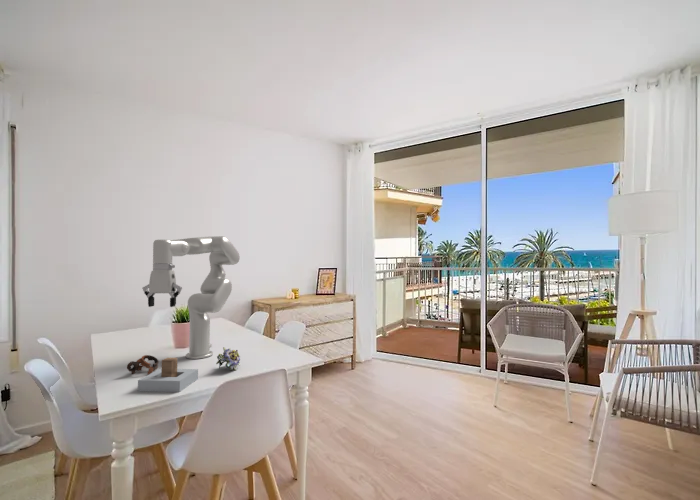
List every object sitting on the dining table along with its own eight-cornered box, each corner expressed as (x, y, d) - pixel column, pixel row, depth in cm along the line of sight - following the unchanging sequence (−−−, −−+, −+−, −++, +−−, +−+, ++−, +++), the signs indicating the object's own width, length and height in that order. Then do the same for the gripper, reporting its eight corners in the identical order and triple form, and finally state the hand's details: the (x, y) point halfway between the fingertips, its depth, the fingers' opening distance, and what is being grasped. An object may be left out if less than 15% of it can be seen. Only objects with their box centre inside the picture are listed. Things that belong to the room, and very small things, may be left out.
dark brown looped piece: (146, 369, 157) (155, 353, 157) (154, 382, 152) (164, 366, 152) (118, 369, 147) (128, 352, 147) (127, 383, 142) (137, 366, 142)
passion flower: (234, 382, 154) (232, 365, 147) (211, 377, 155) (208, 359, 148) (245, 362, 163) (243, 344, 157) (223, 357, 164) (220, 340, 158)
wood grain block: (167, 382, 138) (167, 357, 139) (177, 383, 138) (177, 357, 138) (161, 386, 134) (161, 360, 135) (171, 386, 134) (171, 360, 134)
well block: (160, 378, 143) (160, 368, 144) (197, 378, 143) (198, 369, 143) (137, 391, 130) (137, 380, 130) (179, 391, 129) (179, 380, 129)
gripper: (186, 267, 157) (185, 305, 157) (148, 267, 158) (148, 305, 158) (177, 267, 150) (176, 307, 149) (138, 267, 151) (137, 307, 150)
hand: (162, 306), depth 154 cm, fingers open, 9 cm apart
